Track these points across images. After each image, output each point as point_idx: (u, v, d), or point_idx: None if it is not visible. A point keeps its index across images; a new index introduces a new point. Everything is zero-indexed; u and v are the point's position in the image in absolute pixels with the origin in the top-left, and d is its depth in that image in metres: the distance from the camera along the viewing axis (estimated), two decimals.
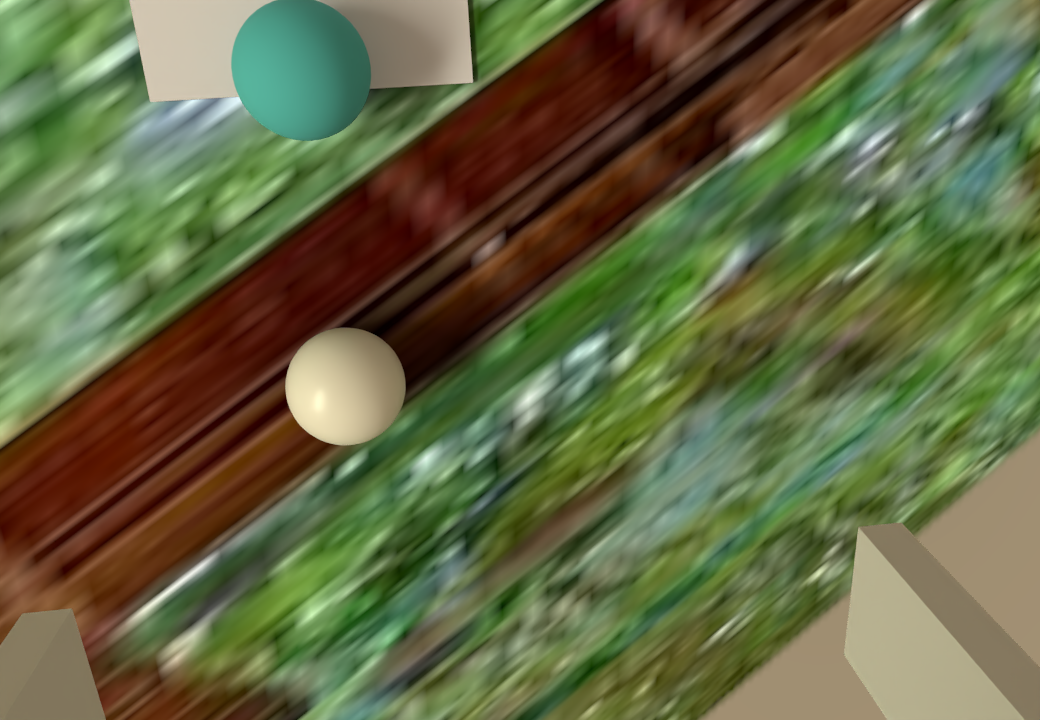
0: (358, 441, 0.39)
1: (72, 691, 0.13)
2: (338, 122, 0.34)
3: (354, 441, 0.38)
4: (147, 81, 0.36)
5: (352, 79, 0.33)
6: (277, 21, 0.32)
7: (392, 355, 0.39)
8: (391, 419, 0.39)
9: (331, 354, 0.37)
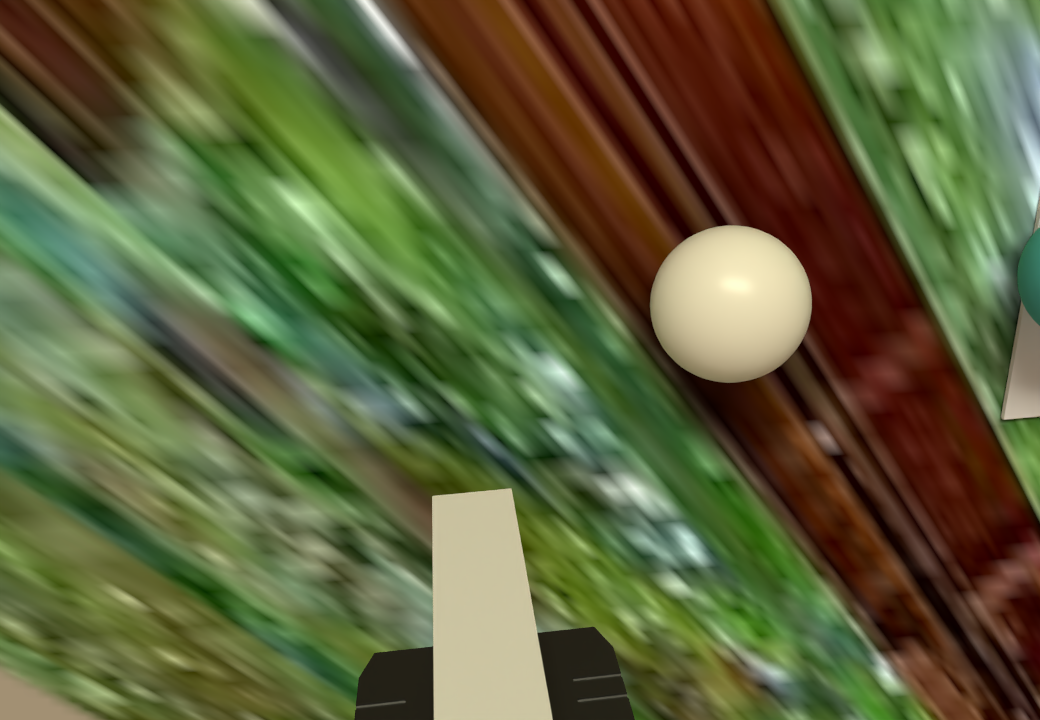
0: (685, 338, 0.28)
1: None
2: None
3: (689, 334, 0.28)
4: None
5: None
6: None
7: None
8: (702, 374, 0.29)
9: (809, 307, 0.28)
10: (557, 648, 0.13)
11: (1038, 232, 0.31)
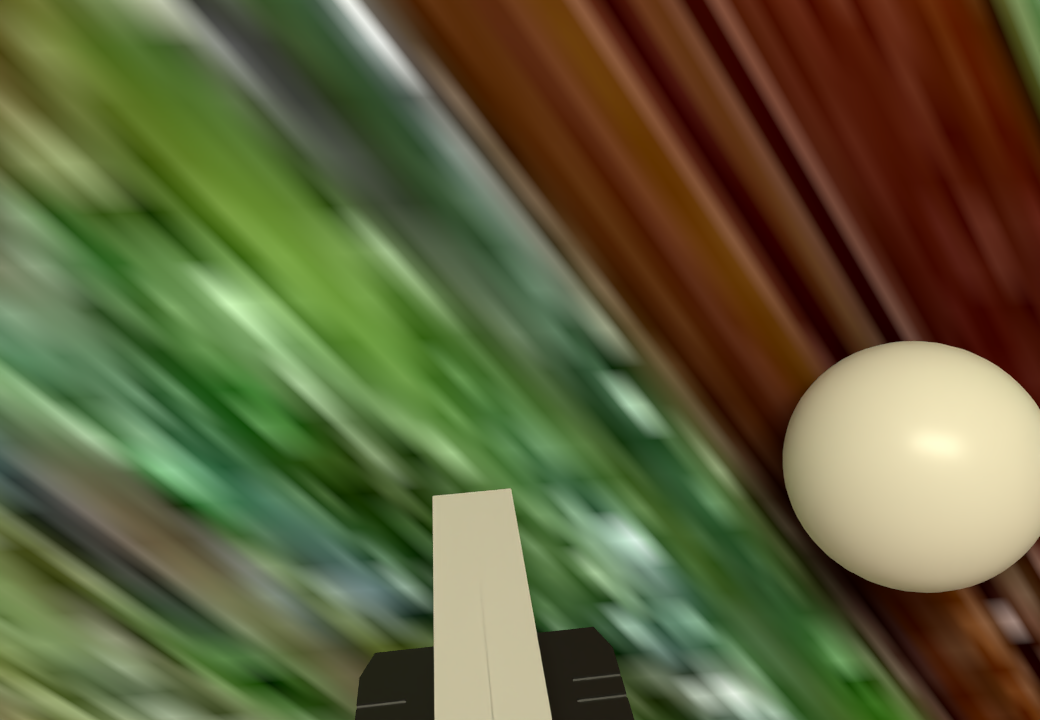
0: (857, 534, 0.17)
1: None
2: None
3: (864, 530, 0.17)
4: None
5: None
6: None
7: None
8: (874, 581, 0.18)
9: None
10: (557, 648, 0.13)
11: None
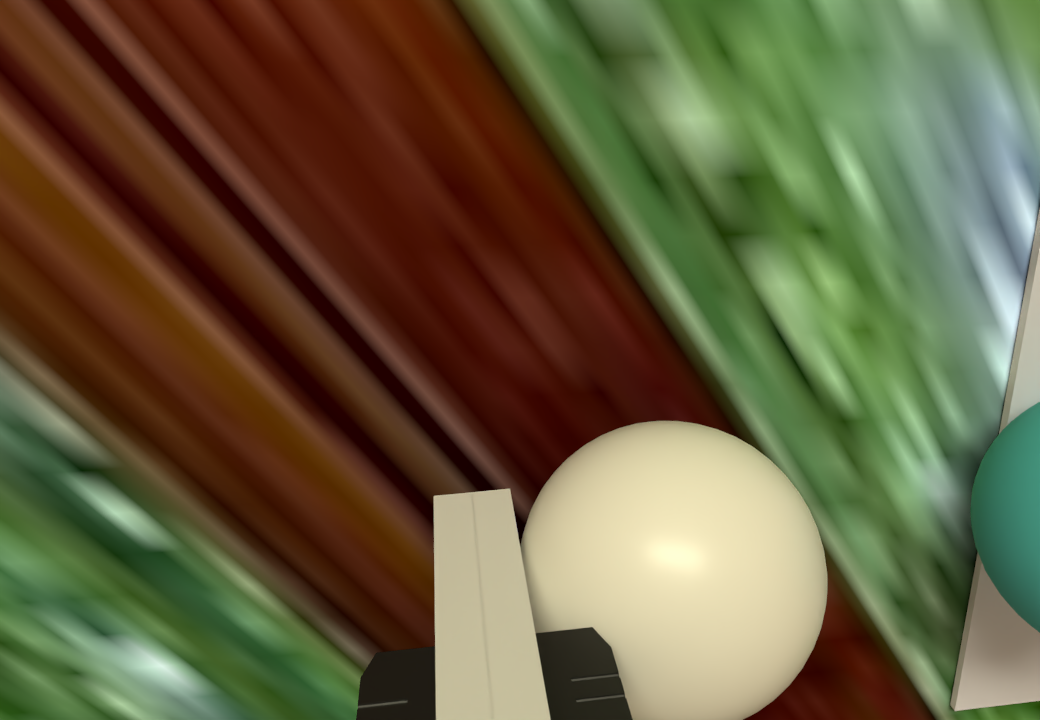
0: (765, 683, 0.13)
1: None
2: None
3: (774, 673, 0.13)
4: None
5: None
6: None
7: None
8: None
9: None
10: (555, 648, 0.13)
11: (1007, 440, 0.16)
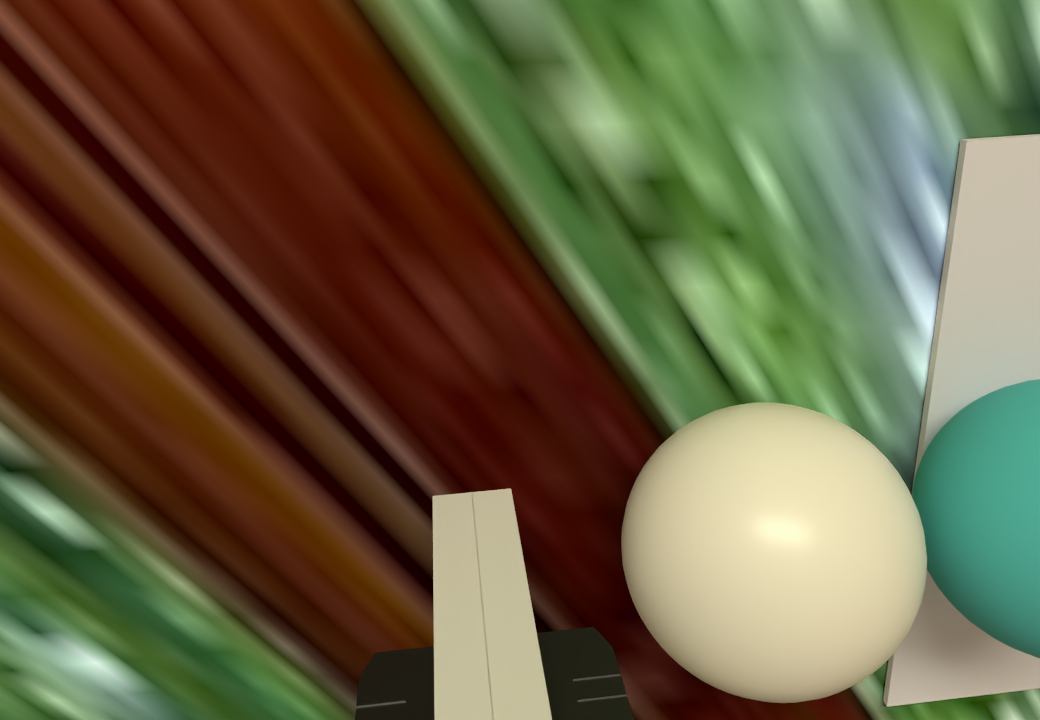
0: None
1: None
2: (1030, 640, 0.15)
3: None
4: (1007, 140, 0.16)
5: None
6: None
7: None
8: None
9: None
10: (557, 648, 0.13)
11: (948, 447, 0.16)
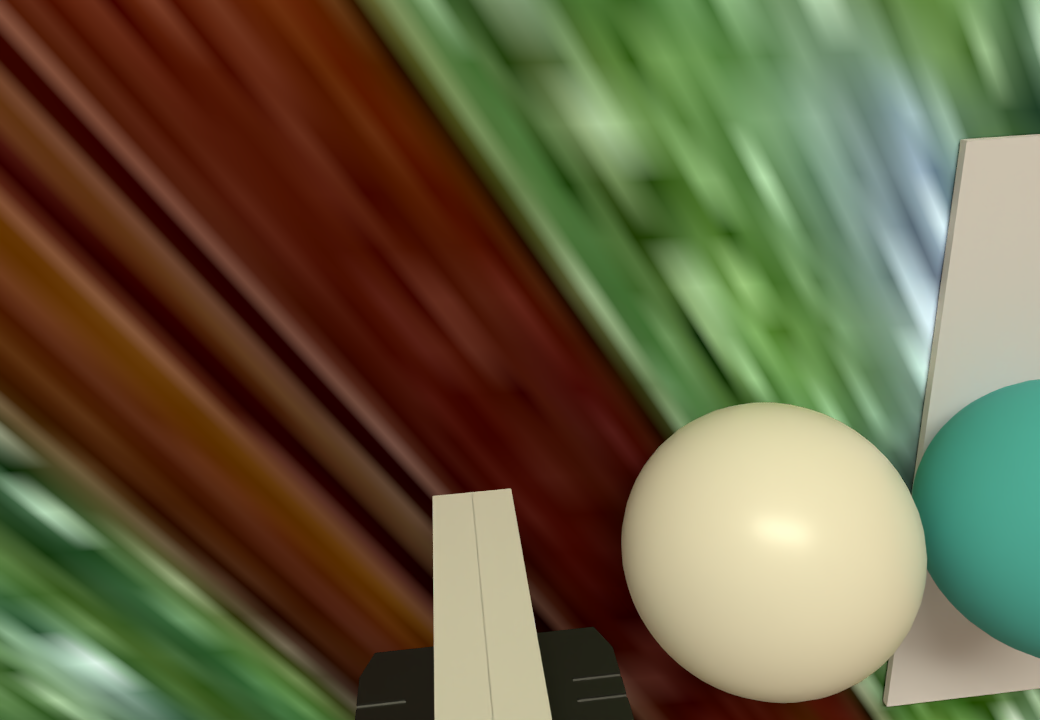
0: None
1: None
2: (1030, 640, 0.15)
3: None
4: (1007, 140, 0.16)
5: None
6: None
7: None
8: None
9: None
10: (557, 648, 0.13)
11: (948, 447, 0.16)
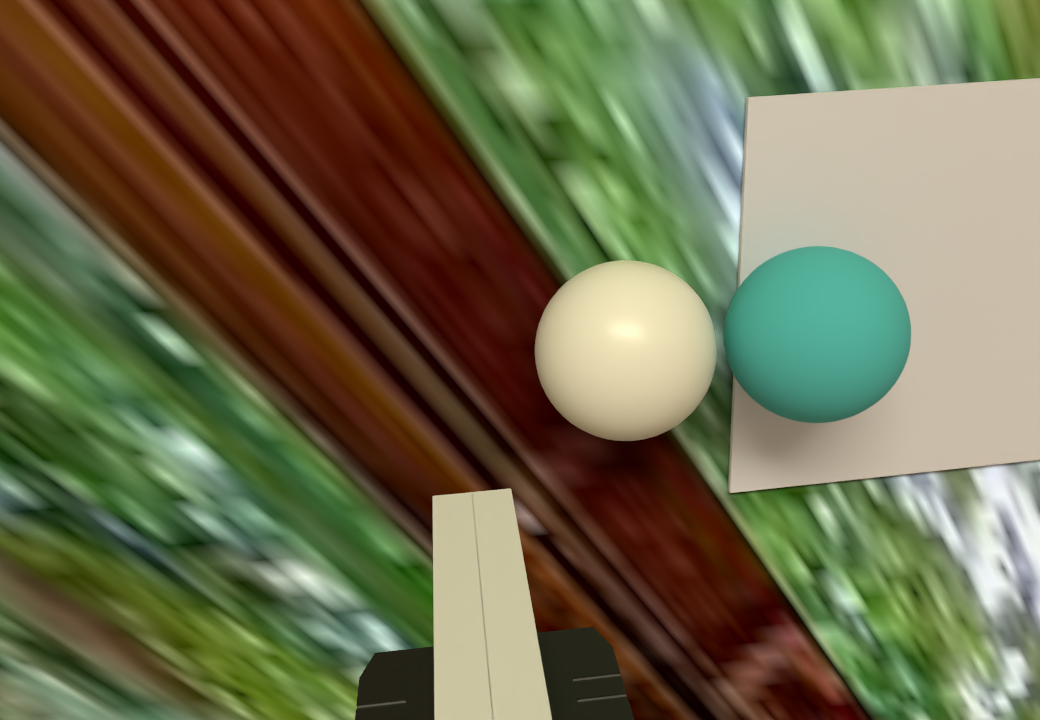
0: None
1: None
2: (781, 400, 0.25)
3: None
4: (774, 98, 0.26)
5: (832, 419, 0.25)
6: (910, 333, 0.25)
7: None
8: None
9: None
10: (557, 648, 0.13)
11: (739, 290, 0.26)
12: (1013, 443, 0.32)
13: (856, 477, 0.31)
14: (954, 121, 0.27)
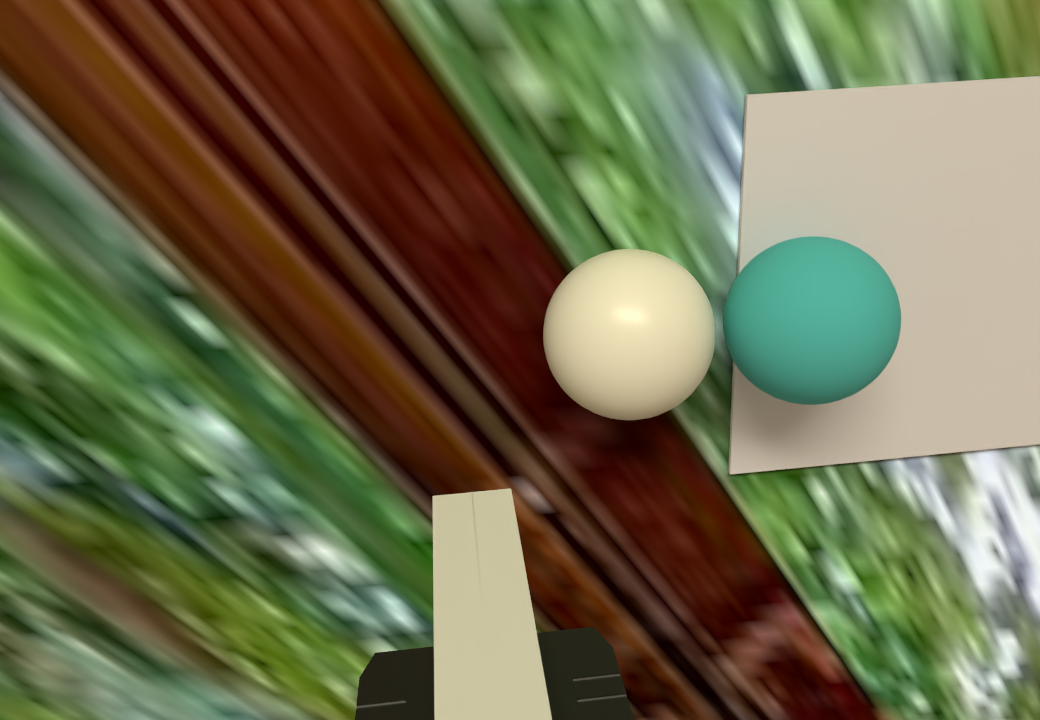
0: None
1: None
2: (776, 382, 0.26)
3: None
4: (772, 95, 0.27)
5: (826, 401, 0.27)
6: (900, 319, 0.26)
7: None
8: None
9: None
10: (557, 648, 0.13)
11: (738, 278, 0.27)
12: (1004, 429, 0.33)
13: (852, 460, 0.33)
14: (945, 118, 0.28)
